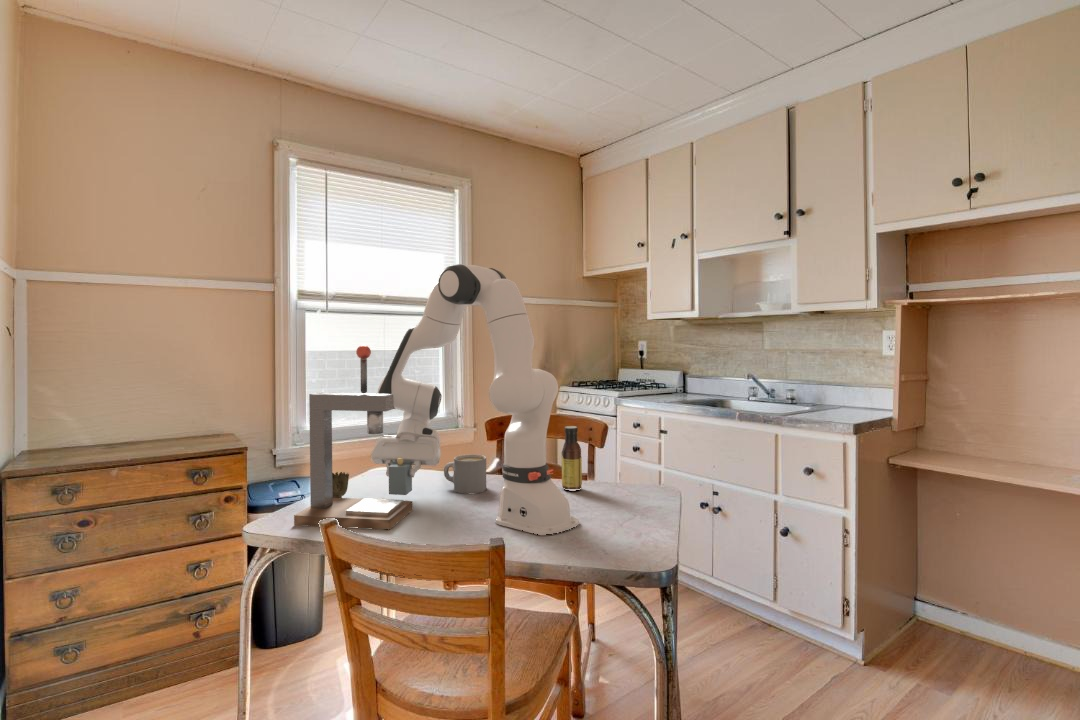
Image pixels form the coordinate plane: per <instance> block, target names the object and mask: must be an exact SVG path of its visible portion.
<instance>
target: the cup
mask: <svg viewBox="0 0 1080 720" xmlns="http://www.w3.org/2000/svg"><path fill="white" fill-rule="evenodd" d="M349 477H350V473H349V472H345V471H341V472H339V473H338V471H336V472H335V473H334V472H332V489H333V498H343V496H345V495H346V493H347V491H348V487H349V480H350V478H349Z"/></svg>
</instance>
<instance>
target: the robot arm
mask: <svg viewBox="0 0 1080 720" xmlns="http://www.w3.org/2000/svg"><path fill="white" fill-rule="evenodd" d="M469 306H471V307H481V308H482V309H483V311H484V314H485V318H486V322H487V323H486V324H487V328H488V332H489V336H490V340H491V346H492V349H493V350H492V351H493V357H494V358H493V359H494V372H493V380H492V381H491V384H490V385H489V390H488V396H489V397H488V398H489V400H490V403H491V406H492V407H493V408H494V409H496V410H497V411H499V412H500V413H504V414H510V415H511V419H510V423H509V425H508V427H507V428H506V431H505V433H504V445H503V446H504V448H503V449H504V450H503V452H504V453H503V454H504V456H503V457H504V459H503V461H504V462H503V463H502V469H501V472H502V478H503V483H502V487H501V490H500V498H499V507H498V515H497V517H496V519H495V524H497V525H500V526H504V527H506V528H510V529H515V530H518V531H522V530H523V531H522V532H526V533H530V534H533V533H534V535H537V534H538V535H537V536H547V535H546V534H552V535H554V534H553V533H557V532H561V533H563V532H562V531H565V530H568V529H570V530H572V529H571V528H573V527H575V526H577V525H578V524H579V525H580V519H578V518H577V517H575V516H573V515H571V508H570V502H569V499H568V498H567V497H566V496H565V494H564V493H563V492H562V491H561V490H560V489H559V488H558V486H557V485H556V484H555V483H554V482H553V481H552V479H551V478H552V475H553V474H554V472H553V471H554V469H549V468H550V467H549V464H548V463H547V434H548V427H549V423H550V418H551V414H552V408H553V404H554V402H555V399H556V398H557V396H558V394H559V393H558V392H559V384H558V381H557V379H556V377H555V376H554V375H553V374H552V373H551V372H549V371H547V370H544V369H540V368H533V349H534V347H535V343H536V342H535V337H534V333H533V330H532V329H533V328H532V325H531V322H530V317H529V314H528V310H527V307H526V304H525V300H524V298H523V296H522V293H521V291H520V289H519V287H518V285H517V283H516V282H515V281H513V280H511V279H508V278H507V277H506V275H505V274H504V273H503V272H502V271H499V270H497V269H495V268H492V267H485V266H480V265H477V264H461V263H458V264H451V265H448V266H446V267H445V268H444V269H442V271H441V272H440V274H439V276H438V279H437V282H435V284H434V285H433V287H432V289H431V292H430V293H429V295H428V299H427V301H426V305H425V307H424V310H423V313H422V314H423V315H422V317H421V319H420V321H418V323H417V324H416V325H414V326H410V327H409V328H408V330H407V331H406V333H405V334H404V335H403V338H402V339H401V342H400V344H399V347H398V349H397V350H396V353H395V355H394V357H393V359H392V362H391V364H390V366H389V368H388V370H387V373H386V374H385V377H384V378H383V379H382V381H381V382H380V384H379V386H378V388H377V393H376V394H393V400H394V409H393V410H400V411H403V416H402V417H403V418H402V420H401V421H400V423H399V426H398V429H397V432H396V435H395V434H394V435H393V434H392V435H388V434H383V435H382V436H380V437H378V438H377V439H376V441H375V445H374V447H373V448H372V452H371V453H370V457H371V458H370V459H371V460H372V462H373V463H374V464H375V465H385V467H386V471H385V475H386V476H387V477H389V466H390V465H392V464H394V463H398V462H397V459H398V458H403V463H412V466H413V467H412V469H409V470H408V477H412V478H414V477H415V475H416V473H417V472H418V471H420V469H421V466H432V467H433V466H437V465H438V464H439V463H440V461H441V455H442V450H441V443H442V441H441V438H440V434H439V433H438V432H437V429H434V428H431V427H429V426H430V424H431V422H432V420H433V419H434V418H436V417H437V415H438V413H439V408H440V405H441V402H442V397H443V396H442V392H441V391H440V389H439V388H438V386H436V385H434V384H430V383H427V382H423V381H418V380H415V379H411V378H406V377H404V376H403V375H402V373H403V371H404V369H405V367H406V365H407V363H408V361H409V358H410V357H411V355H412V354H413V353H415V352H417V351H420V350H421V351H422V350H428V349H440V348H442V347H446V346H448V345H450V344H451V343H453V342H454V341H455V339H456V338H457V337H458V333H459V331H460V329H461V325H462V321H463V317H464V313H465V310H466V309H467V307H469ZM579 525H578V526H579ZM578 526H577V527H578ZM575 528H576V527H575ZM573 529H574V528H573ZM568 531H569V530H568ZM565 532H566V531H565ZM557 534H558V533H557Z"/></svg>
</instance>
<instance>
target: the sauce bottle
mask: <svg viewBox="0 0 1080 720" xmlns="http://www.w3.org/2000/svg"><path fill="white" fill-rule="evenodd" d="M578 428H579V427H578V426H575V425H569V426H568V425H567V426H564V437H565V438H564V443H563V447H562V449H561V450H562V451H561V453H560V454H561V485H562V487H563V488H565V489H580V488H581V489H582V483H583V478H582V477H583V472H582V471H583V470H582V469H583V468H582V462H583V461H582V448H581V446H580V444H579V442H578V430H579V429H578ZM563 488H562V489H563Z"/></svg>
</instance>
